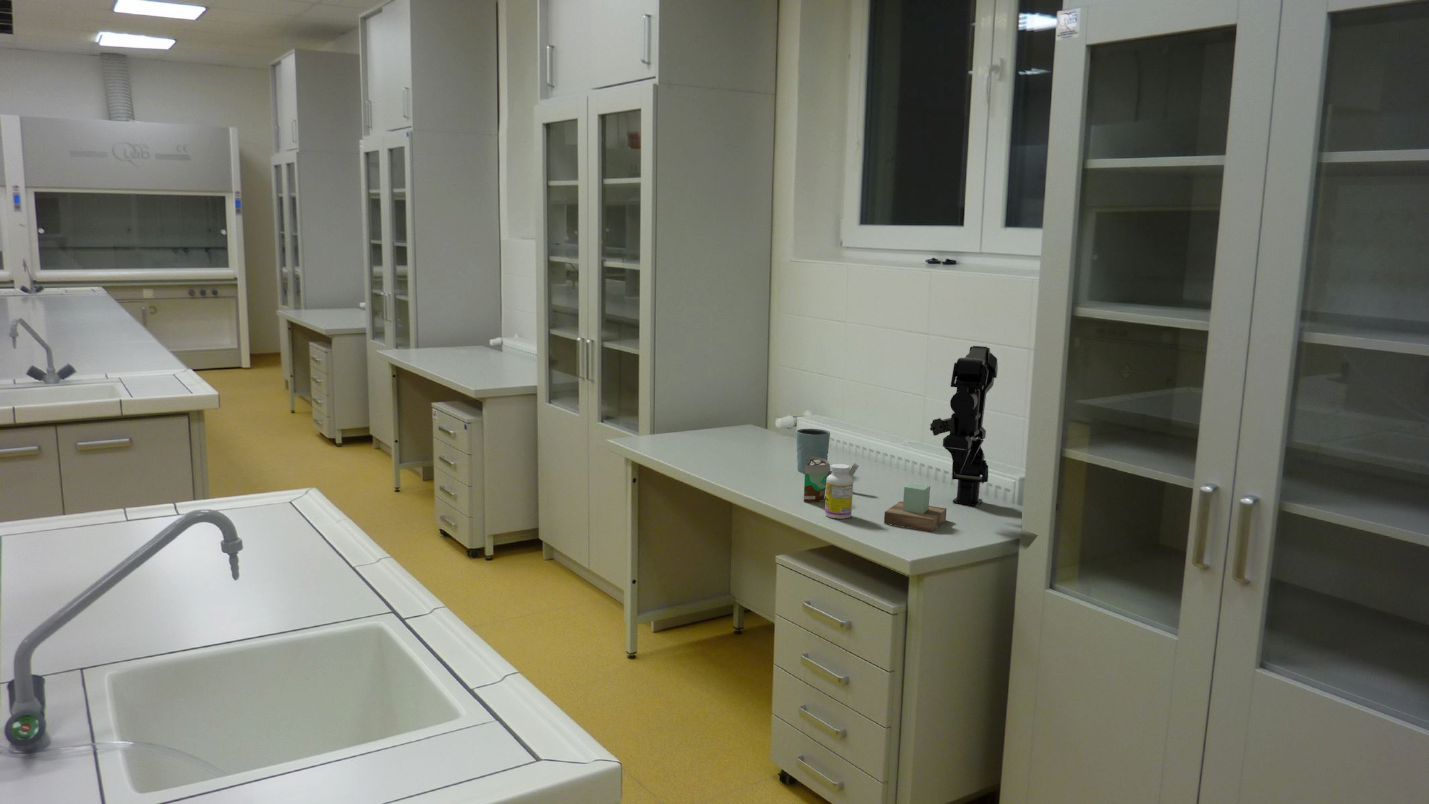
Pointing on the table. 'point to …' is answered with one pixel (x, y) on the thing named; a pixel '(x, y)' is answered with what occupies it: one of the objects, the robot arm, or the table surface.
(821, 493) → the food container
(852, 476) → the lighter
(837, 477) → the supplement bottle
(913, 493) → the green block
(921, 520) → the walnut base
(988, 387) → the robot arm
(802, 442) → the grey plant pot
